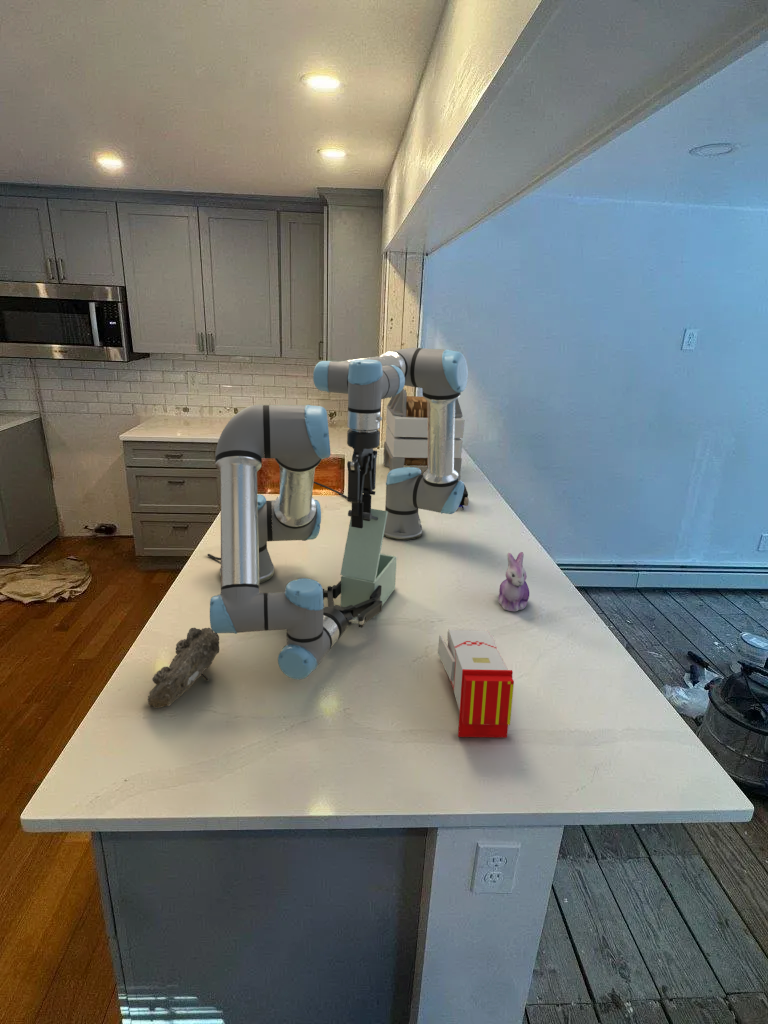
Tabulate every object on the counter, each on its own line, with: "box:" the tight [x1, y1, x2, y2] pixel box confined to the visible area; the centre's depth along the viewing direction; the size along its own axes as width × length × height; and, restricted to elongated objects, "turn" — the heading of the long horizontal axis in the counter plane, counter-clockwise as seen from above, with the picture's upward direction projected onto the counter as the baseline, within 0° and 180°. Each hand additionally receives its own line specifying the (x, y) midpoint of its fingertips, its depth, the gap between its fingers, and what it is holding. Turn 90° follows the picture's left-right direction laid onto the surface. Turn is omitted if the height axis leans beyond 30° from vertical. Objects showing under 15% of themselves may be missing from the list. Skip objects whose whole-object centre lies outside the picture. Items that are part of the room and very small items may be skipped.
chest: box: [340, 552, 398, 619], centre depth 152 cm, size 17×9×10 cm, turn 160°
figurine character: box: [458, 484, 470, 511], centre depth 230 cm, size 7×8×15 cm
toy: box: [437, 628, 515, 738], centre depth 117 cm, size 12×13×30 cm
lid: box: [339, 508, 388, 582], centre depth 140 cm, size 18×9×8 cm
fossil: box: [147, 627, 220, 709], centre depth 117 cm, size 22×10×15 cm
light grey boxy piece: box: [383, 388, 465, 481], centre depth 268 cm, size 34×33×41 cm
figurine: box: [497, 551, 530, 612], centre depth 152 cm, size 9×10×15 cm
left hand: (361, 586), depth 147 cm, fingers closed on chest, 9 cm apart
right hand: (361, 523), depth 139 cm, fingers open, 5 cm apart
